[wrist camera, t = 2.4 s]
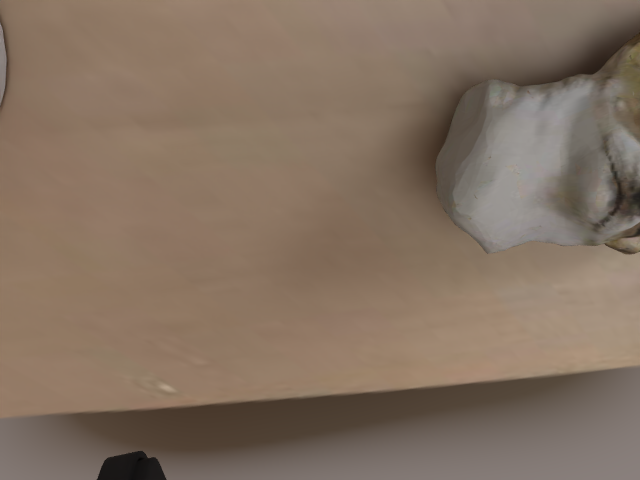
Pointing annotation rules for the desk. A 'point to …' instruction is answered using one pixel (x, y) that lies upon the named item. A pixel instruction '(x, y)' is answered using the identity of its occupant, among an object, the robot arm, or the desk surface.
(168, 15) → the desk surface
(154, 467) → the robot arm
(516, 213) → the ceramic sculpture
